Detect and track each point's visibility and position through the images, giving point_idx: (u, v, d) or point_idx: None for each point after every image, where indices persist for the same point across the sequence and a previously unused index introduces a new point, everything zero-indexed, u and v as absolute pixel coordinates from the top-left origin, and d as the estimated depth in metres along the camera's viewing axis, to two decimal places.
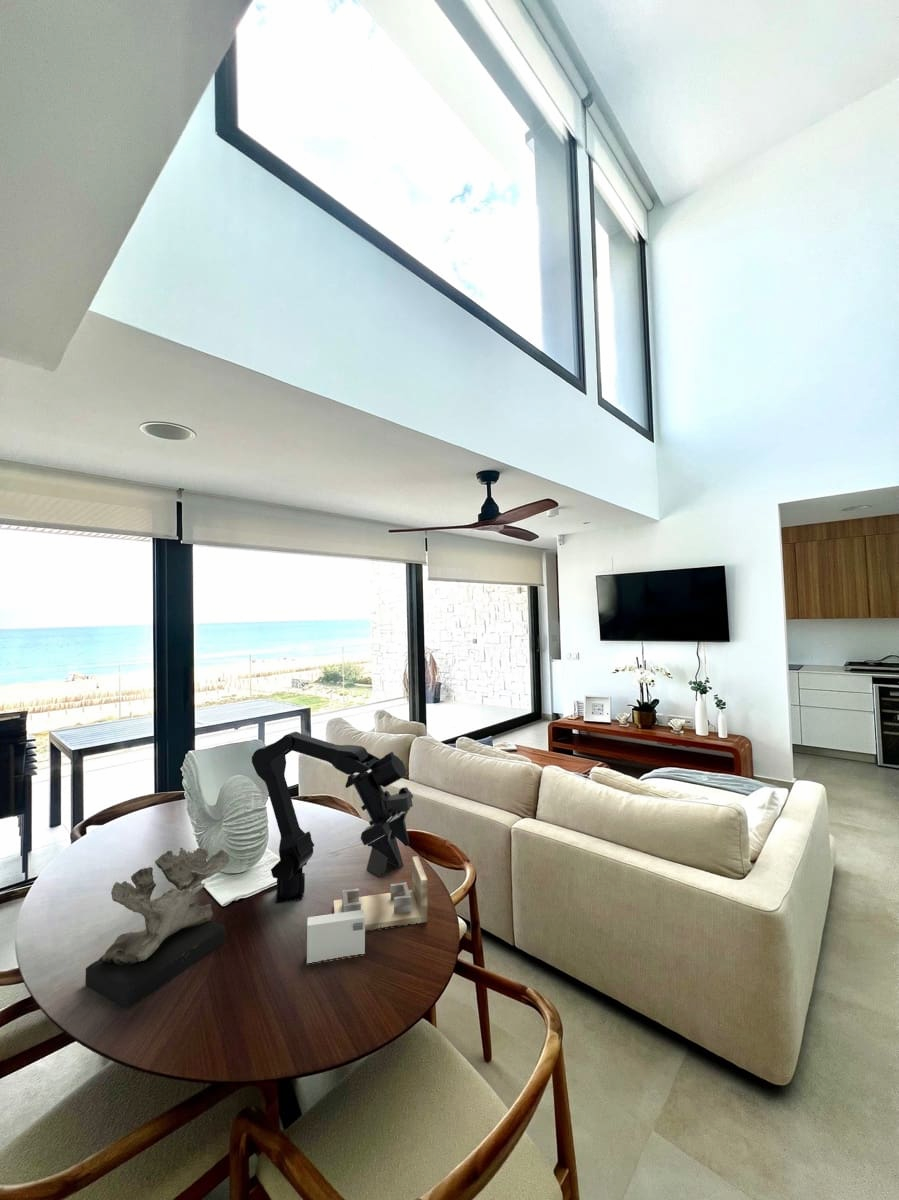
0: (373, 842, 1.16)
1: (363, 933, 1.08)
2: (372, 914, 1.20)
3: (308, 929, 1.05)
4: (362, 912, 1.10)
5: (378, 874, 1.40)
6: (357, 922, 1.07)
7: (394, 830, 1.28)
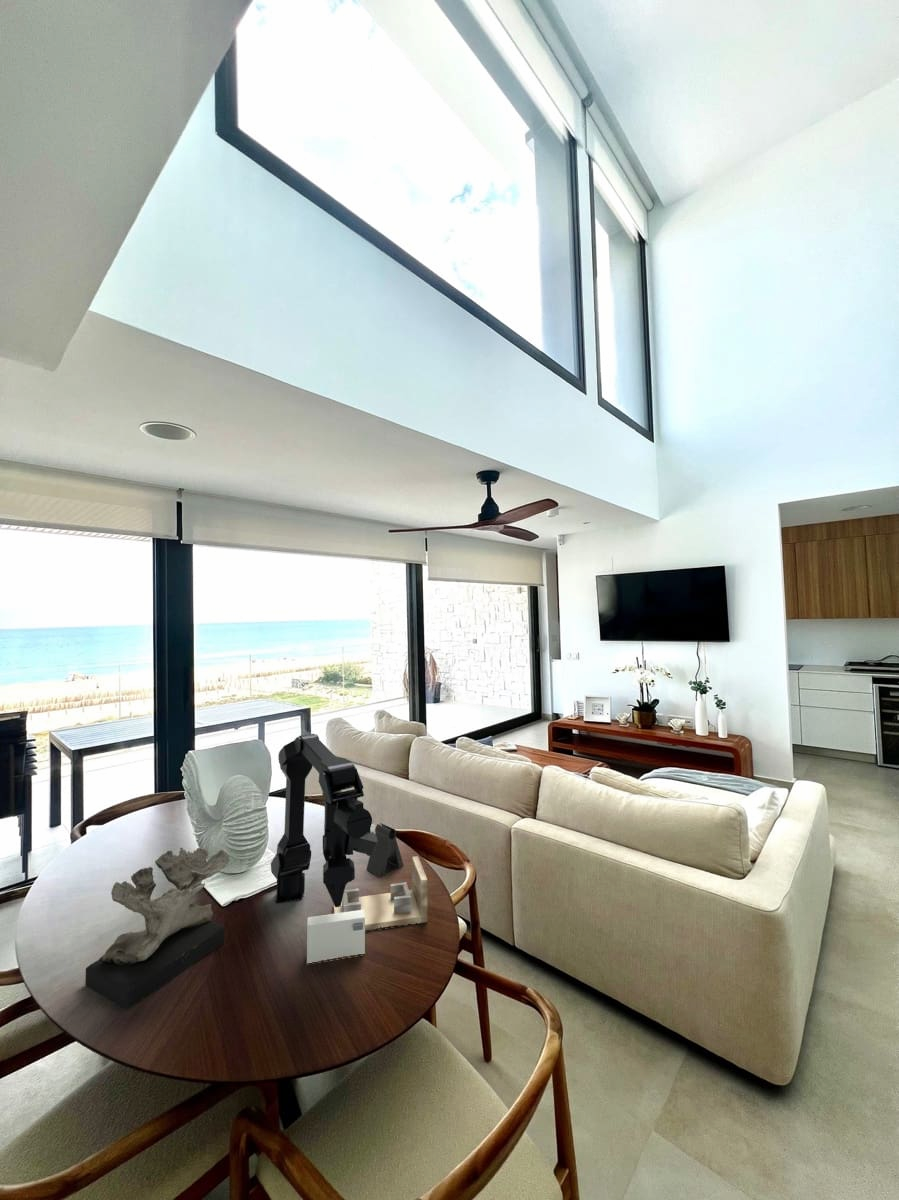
0: None
1: (363, 933, 1.08)
2: (372, 914, 1.20)
3: (308, 929, 1.05)
4: (362, 912, 1.10)
5: (378, 874, 1.40)
6: (357, 922, 1.07)
7: None
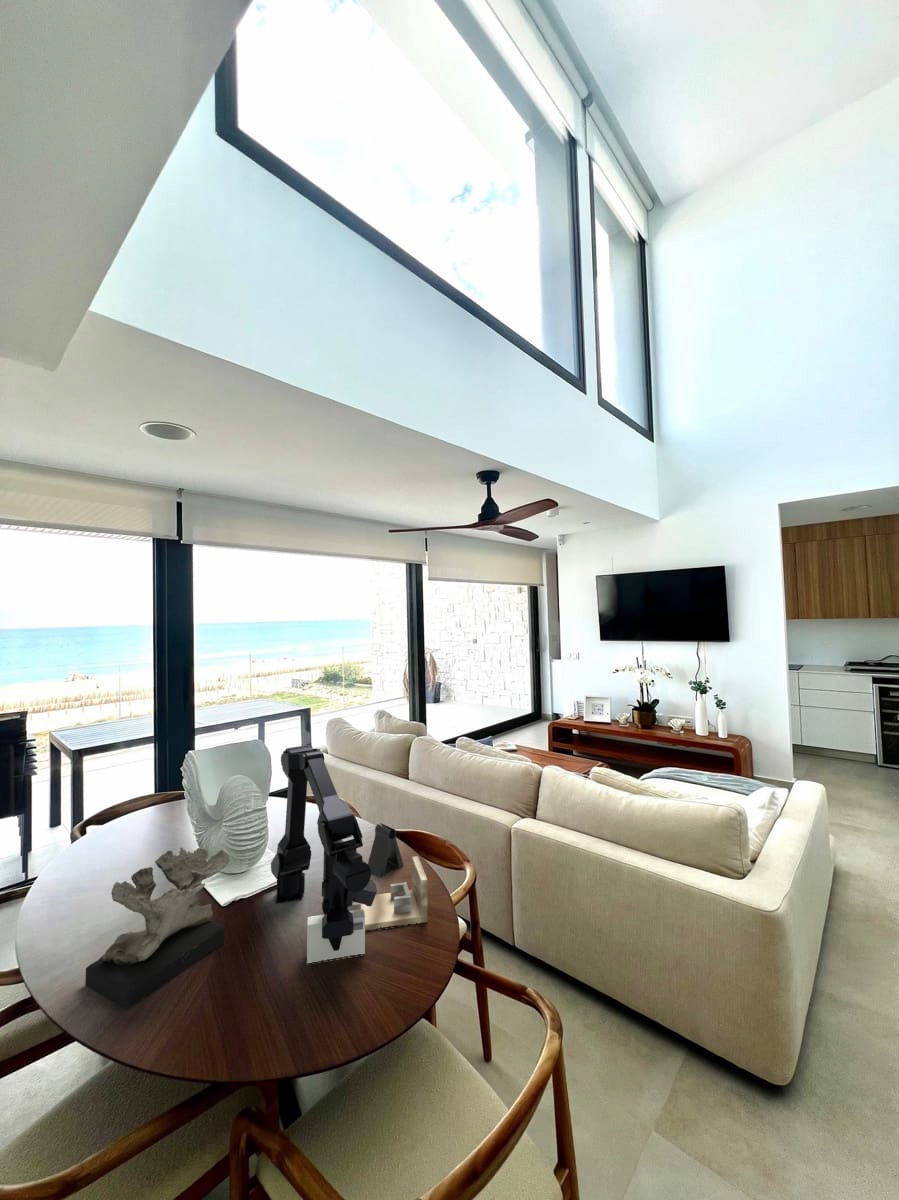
0: None
1: (363, 933, 1.08)
2: (372, 914, 1.20)
3: (308, 929, 1.05)
4: (362, 912, 1.10)
5: (378, 874, 1.40)
6: (357, 922, 1.07)
7: None
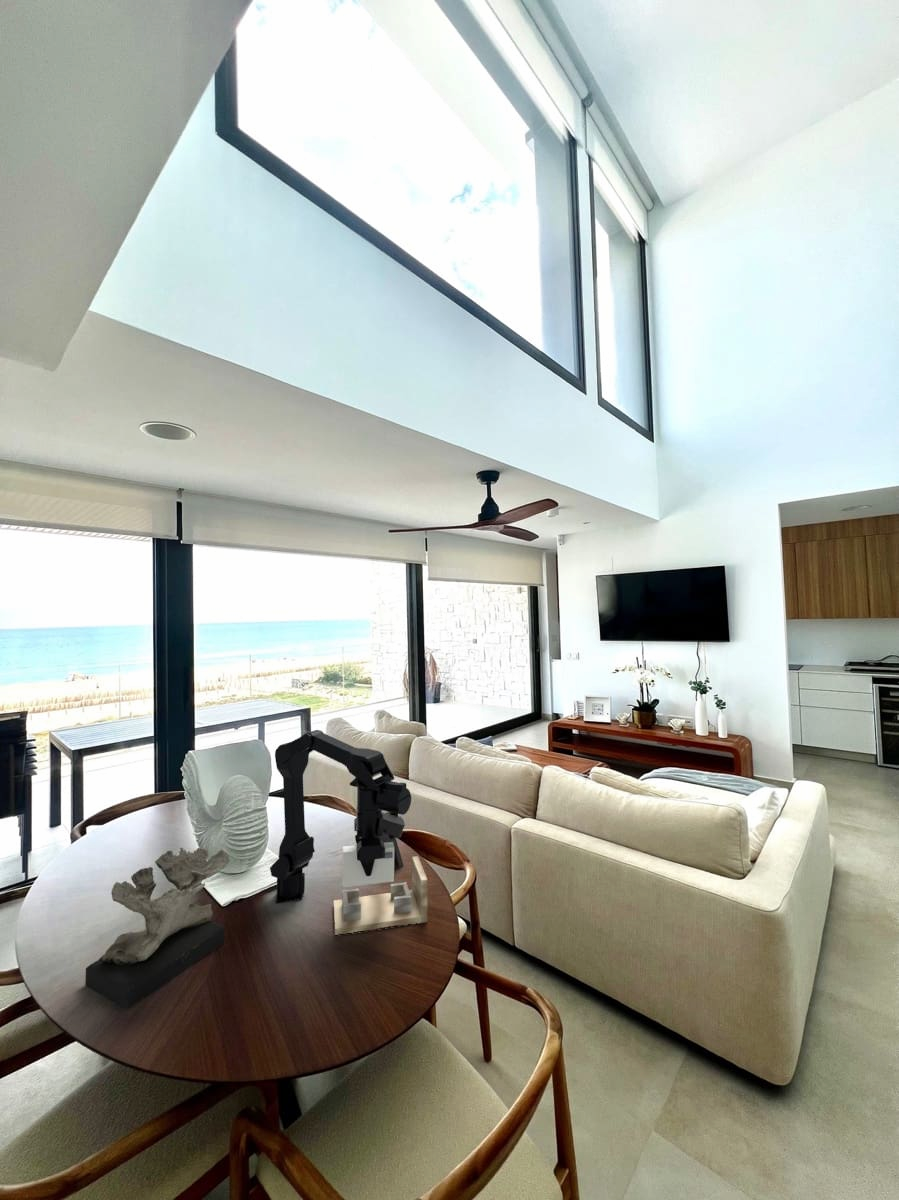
0: None
1: (393, 861, 1.19)
2: (372, 914, 1.20)
3: (344, 855, 1.17)
4: (391, 844, 1.21)
5: None
6: (387, 851, 1.19)
7: None
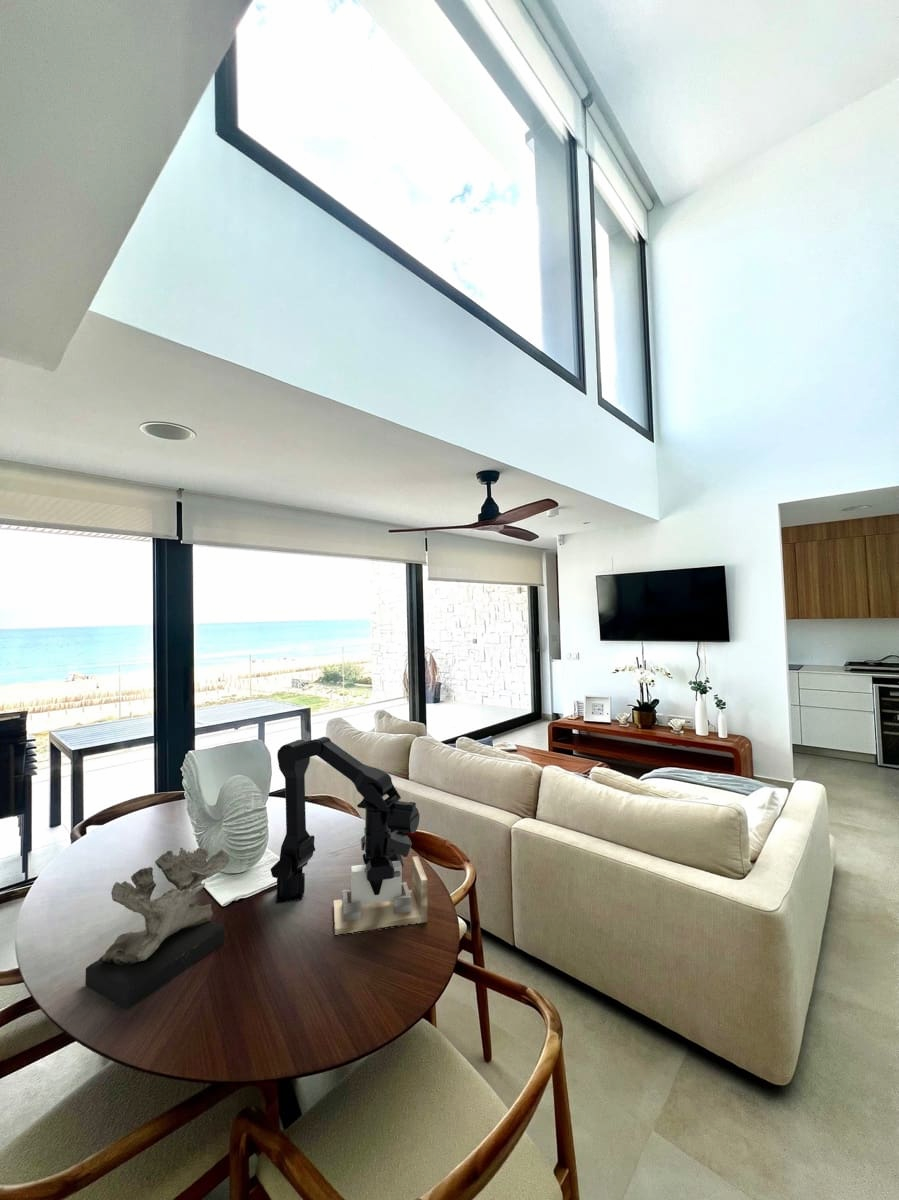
0: None
1: (400, 880, 1.23)
2: (372, 914, 1.20)
3: (353, 875, 1.20)
4: (399, 862, 1.24)
5: None
6: (395, 870, 1.22)
7: None
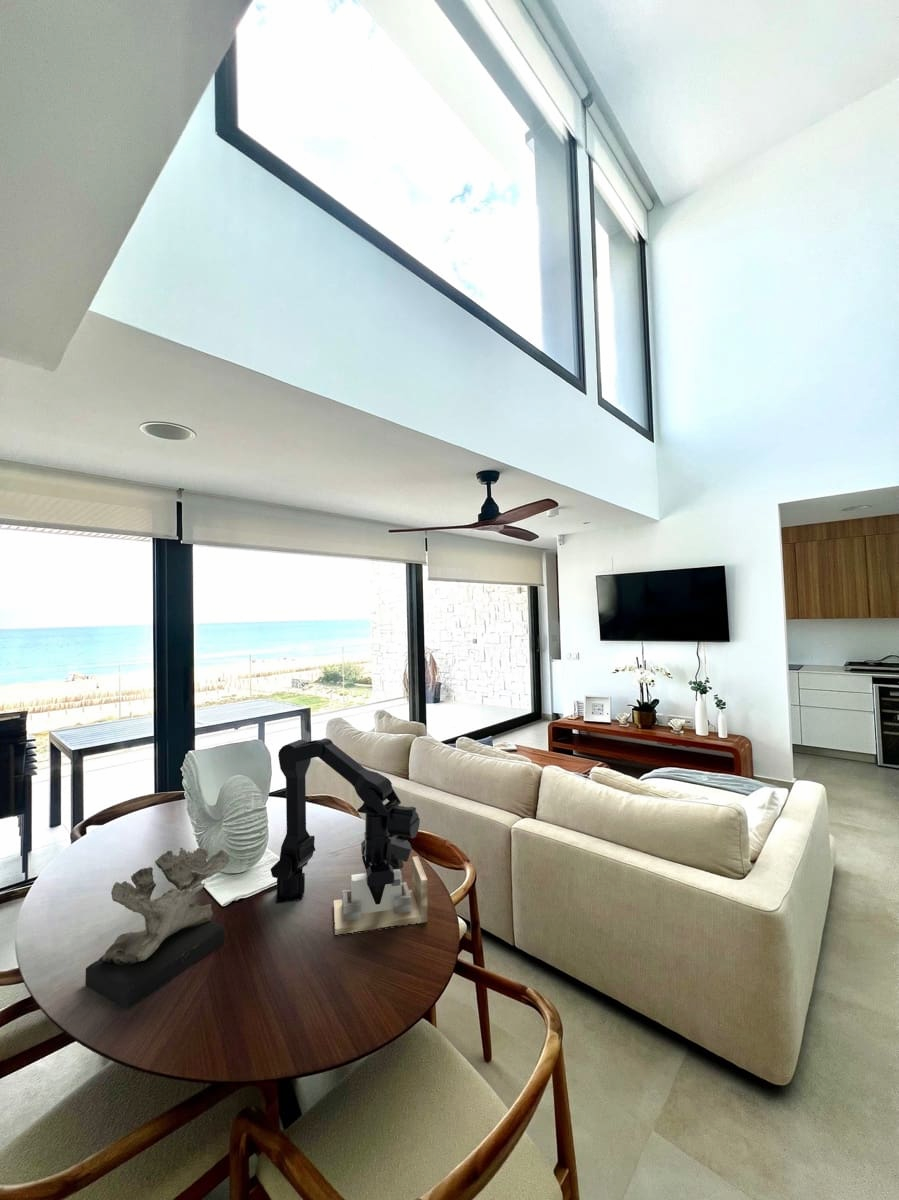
0: None
1: (400, 889, 1.22)
2: (372, 914, 1.20)
3: (353, 884, 1.20)
4: (399, 871, 1.24)
5: None
6: (395, 879, 1.22)
7: None
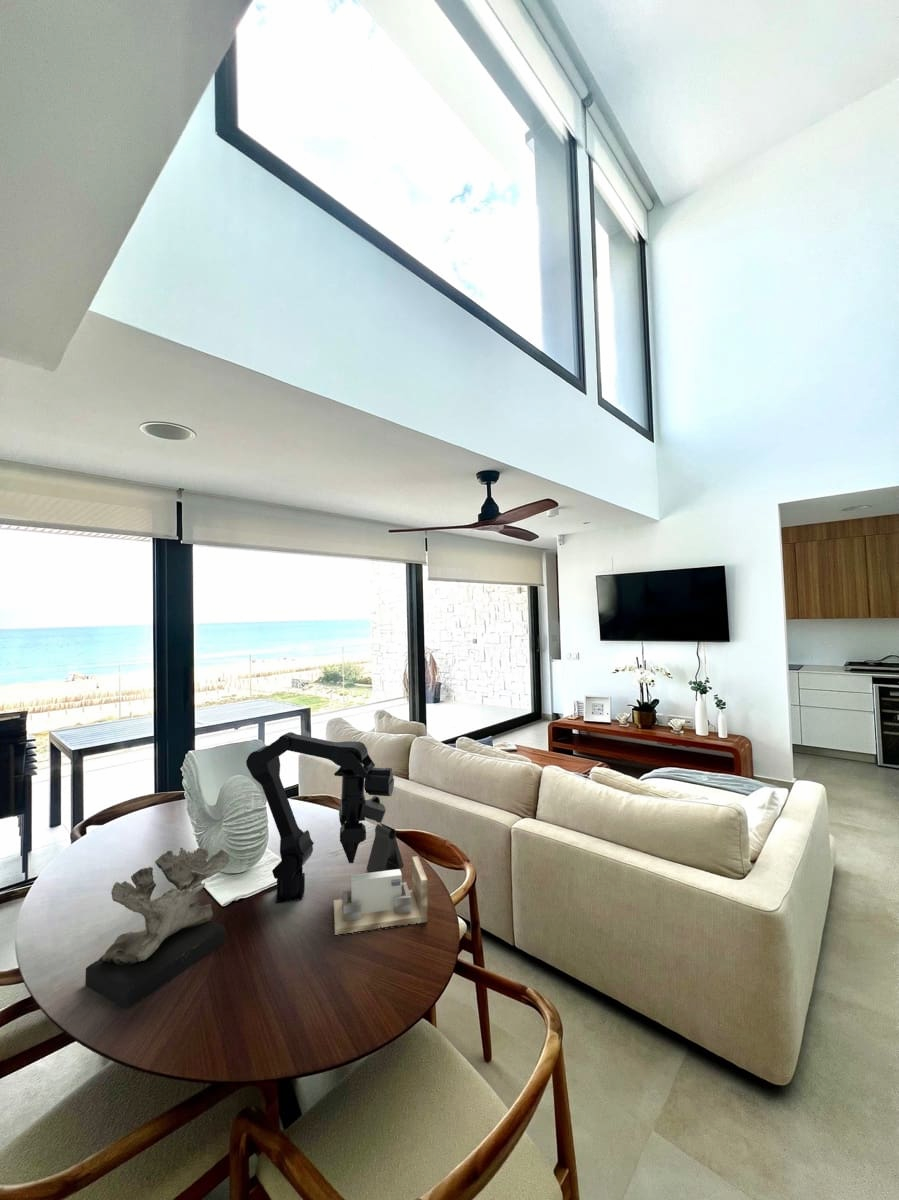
0: None
1: (400, 889, 1.22)
2: (372, 914, 1.20)
3: (353, 884, 1.20)
4: (399, 871, 1.24)
5: None
6: (395, 879, 1.22)
7: None
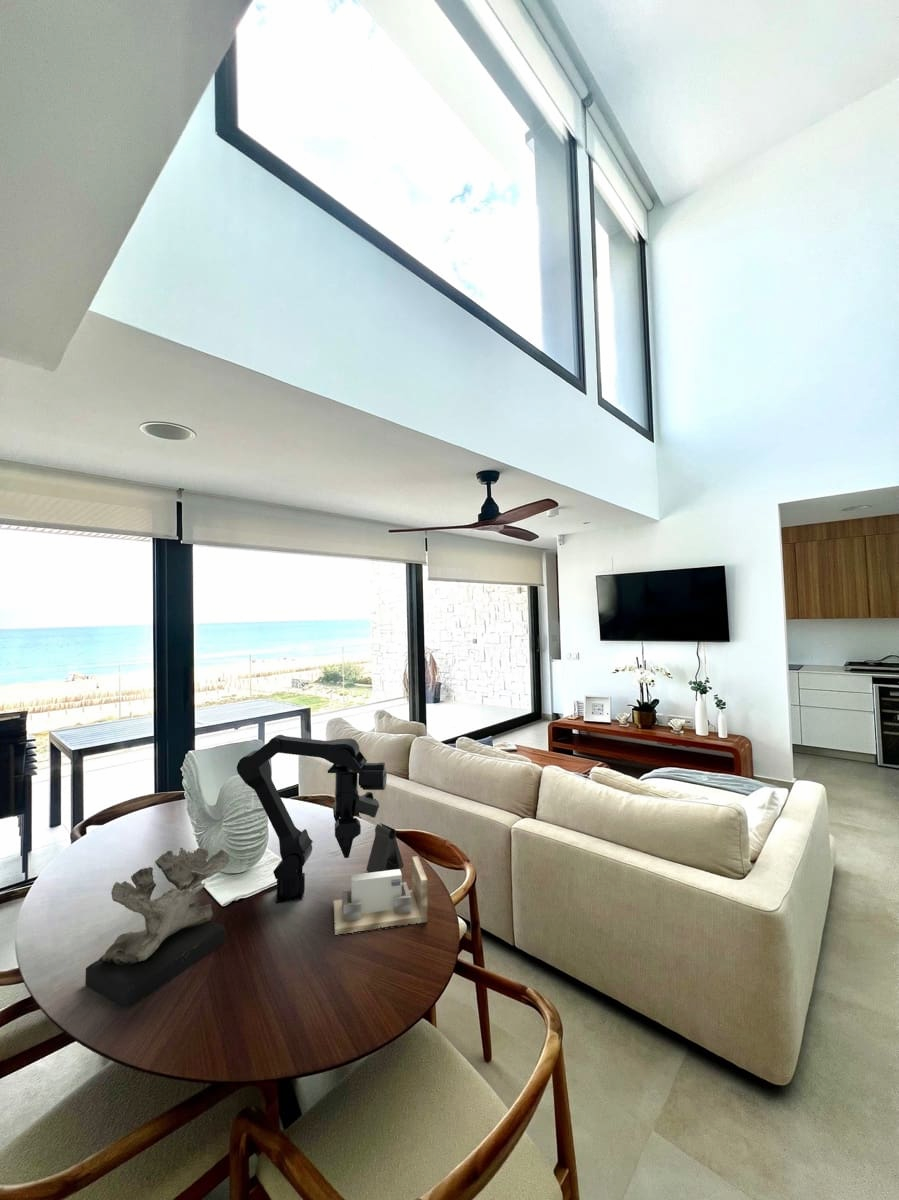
0: None
1: (400, 889, 1.22)
2: (372, 914, 1.20)
3: (353, 884, 1.20)
4: (399, 871, 1.24)
5: None
6: (395, 879, 1.22)
7: None
